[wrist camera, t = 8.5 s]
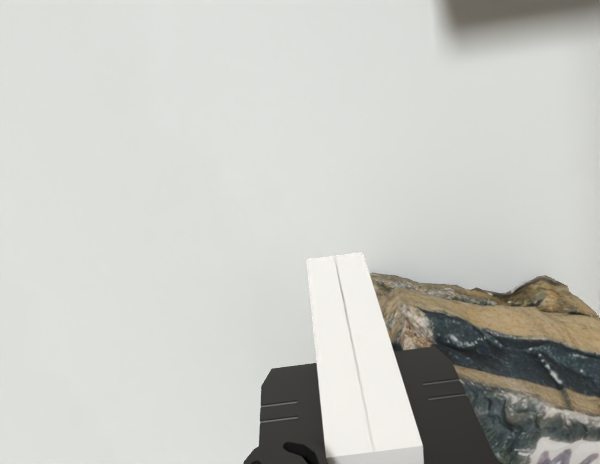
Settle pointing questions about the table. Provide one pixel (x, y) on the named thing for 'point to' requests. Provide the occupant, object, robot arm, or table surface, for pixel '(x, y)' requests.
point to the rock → (510, 360)
